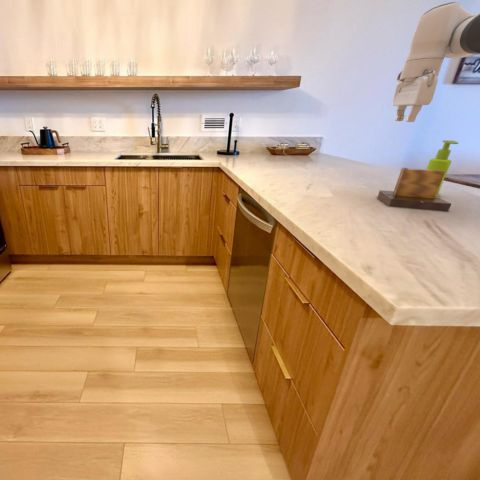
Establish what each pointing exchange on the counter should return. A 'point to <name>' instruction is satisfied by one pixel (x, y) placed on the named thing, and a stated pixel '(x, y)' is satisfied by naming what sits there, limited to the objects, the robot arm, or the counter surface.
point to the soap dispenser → (441, 160)
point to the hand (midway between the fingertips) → (404, 121)
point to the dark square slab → (413, 202)
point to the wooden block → (418, 183)
